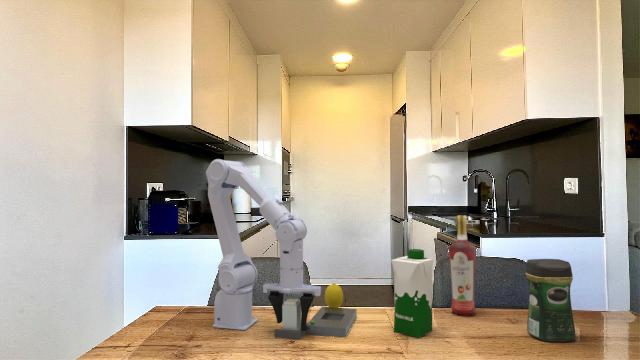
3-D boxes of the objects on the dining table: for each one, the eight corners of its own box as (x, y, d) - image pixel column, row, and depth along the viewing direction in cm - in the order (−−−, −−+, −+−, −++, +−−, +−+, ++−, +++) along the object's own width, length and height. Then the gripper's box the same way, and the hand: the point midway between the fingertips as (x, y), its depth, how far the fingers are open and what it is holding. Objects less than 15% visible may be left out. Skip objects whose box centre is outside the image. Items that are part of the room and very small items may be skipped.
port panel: (305, 334, 95) (305, 323, 95) (322, 314, 110) (322, 305, 110) (345, 337, 92) (345, 326, 92) (356, 317, 108) (356, 307, 108)
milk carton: (437, 330, 97) (436, 250, 97) (420, 340, 90) (418, 255, 91) (406, 322, 103) (405, 247, 103) (388, 331, 96) (387, 251, 97)
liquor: (479, 311, 112) (477, 215, 112) (474, 319, 105) (472, 216, 106) (453, 308, 115) (451, 214, 116) (447, 314, 109) (445, 216, 110)
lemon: (341, 313, 111) (341, 285, 111) (323, 312, 112) (322, 284, 112) (344, 308, 116) (344, 281, 116) (326, 307, 117) (326, 280, 117)
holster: (274, 338, 93) (274, 329, 93) (284, 329, 99) (284, 321, 99) (300, 340, 91) (300, 332, 91) (308, 331, 97) (308, 323, 98)
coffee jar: (561, 331, 96) (559, 256, 97) (581, 343, 88) (579, 262, 89) (521, 330, 96) (520, 256, 97) (538, 343, 88) (536, 261, 89)
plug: (282, 335, 94) (282, 302, 94) (287, 330, 97) (287, 298, 98) (296, 336, 93) (296, 303, 93) (301, 331, 96) (300, 299, 97)
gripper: (258, 269, 94) (258, 326, 93) (315, 272, 90) (315, 331, 89) (269, 264, 100) (269, 316, 100) (322, 266, 97) (323, 321, 96)
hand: (291, 323), depth 95 cm, fingers open, 6 cm apart
